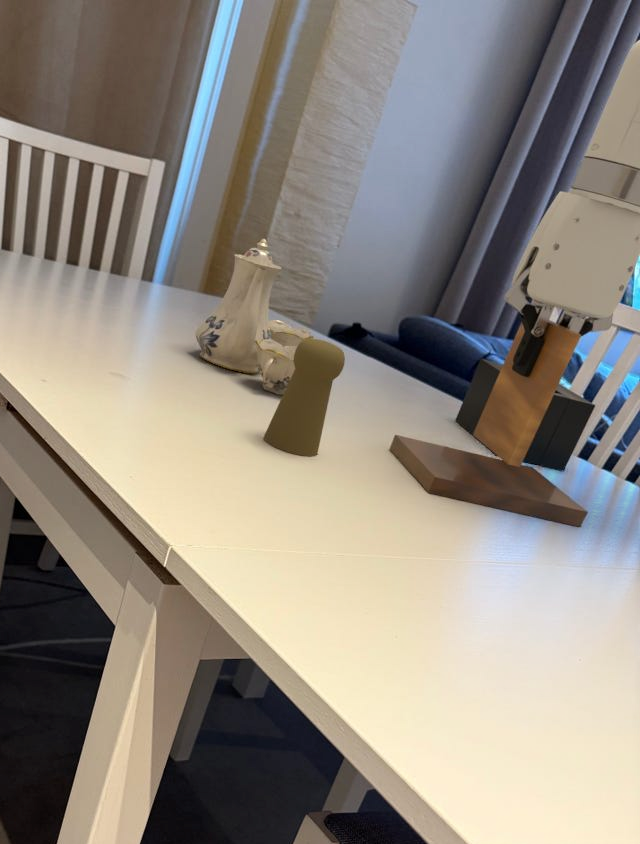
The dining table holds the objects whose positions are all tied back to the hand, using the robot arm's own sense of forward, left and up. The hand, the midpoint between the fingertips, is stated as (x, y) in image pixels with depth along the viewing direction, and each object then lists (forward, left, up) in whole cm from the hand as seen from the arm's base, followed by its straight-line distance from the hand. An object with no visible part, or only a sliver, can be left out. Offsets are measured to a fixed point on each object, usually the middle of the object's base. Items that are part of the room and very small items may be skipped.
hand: (529, 374), depth 98 cm
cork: (+23, +1, -13) cm, 26 cm away
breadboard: (0, 0, -13) cm, 13 cm away
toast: (0, 0, -9) cm, 9 cm away
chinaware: (+22, -32, -13) cm, 41 cm away
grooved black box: (-14, -24, -13) cm, 31 cm away
